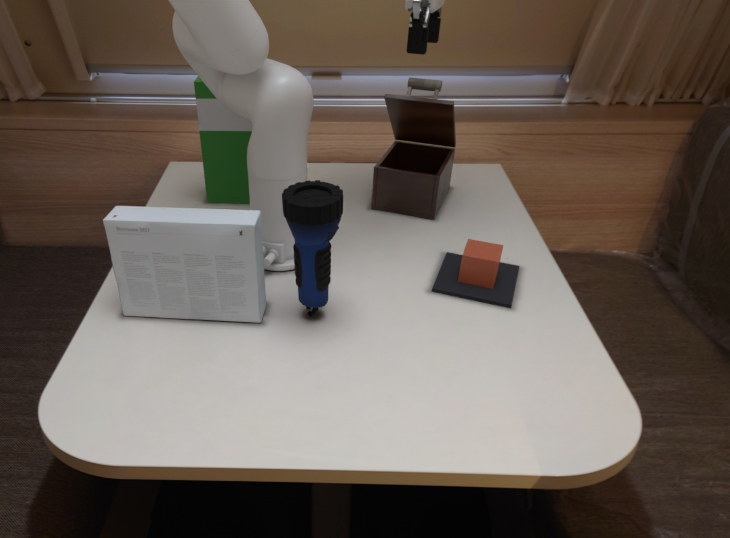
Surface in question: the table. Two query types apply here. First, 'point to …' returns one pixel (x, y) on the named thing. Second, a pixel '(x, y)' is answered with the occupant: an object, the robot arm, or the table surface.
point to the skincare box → (188, 262)
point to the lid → (422, 115)
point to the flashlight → (313, 236)
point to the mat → (496, 296)
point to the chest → (412, 179)
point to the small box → (480, 263)
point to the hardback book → (222, 148)
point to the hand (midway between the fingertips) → (422, 47)
